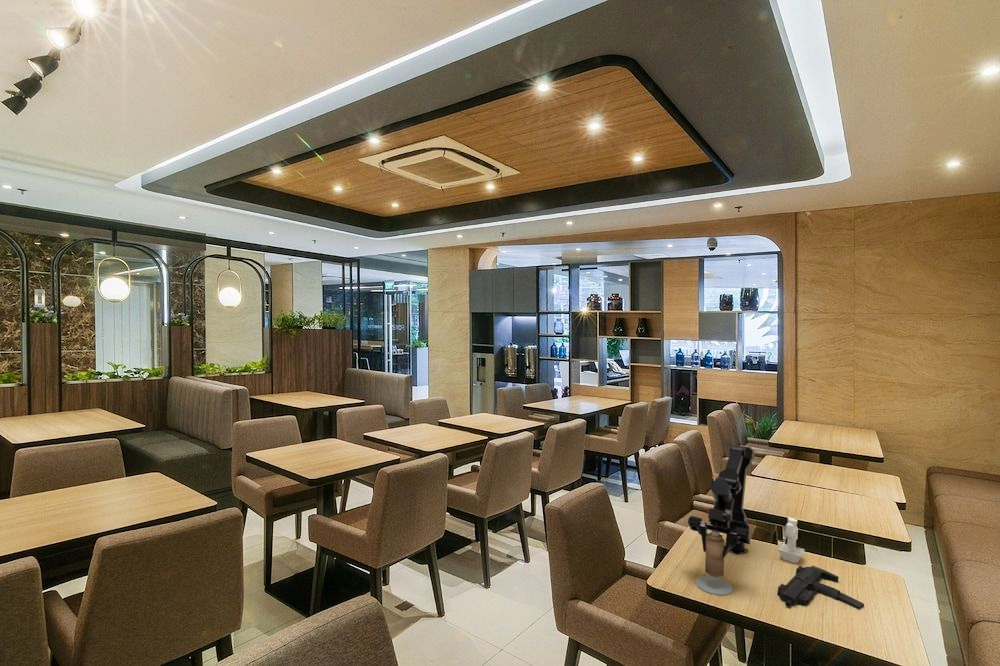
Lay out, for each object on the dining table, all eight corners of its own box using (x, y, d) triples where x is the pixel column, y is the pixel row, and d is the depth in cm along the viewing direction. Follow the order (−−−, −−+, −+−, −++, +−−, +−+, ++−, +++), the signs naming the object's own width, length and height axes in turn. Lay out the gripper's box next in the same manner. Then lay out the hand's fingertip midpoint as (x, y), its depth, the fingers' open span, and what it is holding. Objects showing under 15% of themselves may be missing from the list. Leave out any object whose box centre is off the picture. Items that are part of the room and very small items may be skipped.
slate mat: (712, 574, 171) (712, 573, 171) (740, 590, 161) (740, 589, 161) (688, 581, 166) (688, 580, 166) (715, 598, 156) (715, 597, 156)
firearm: (847, 636, 141) (771, 602, 155) (871, 597, 162) (802, 570, 176) (848, 625, 141) (772, 592, 155) (872, 587, 161) (803, 561, 176)
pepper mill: (707, 566, 168) (708, 526, 167) (725, 571, 164) (726, 531, 164) (703, 573, 163) (704, 532, 163) (721, 578, 160) (722, 537, 159)
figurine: (805, 558, 184) (806, 517, 184) (799, 567, 177) (801, 525, 177) (782, 552, 189) (784, 512, 189) (776, 560, 182) (778, 519, 182)
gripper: (689, 492, 172) (679, 535, 163) (750, 504, 161) (742, 551, 152) (695, 508, 178) (685, 550, 170) (753, 521, 167) (746, 566, 159)
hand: (713, 554), depth 163 cm, fingers closed on pepper mill, 6 cm apart
